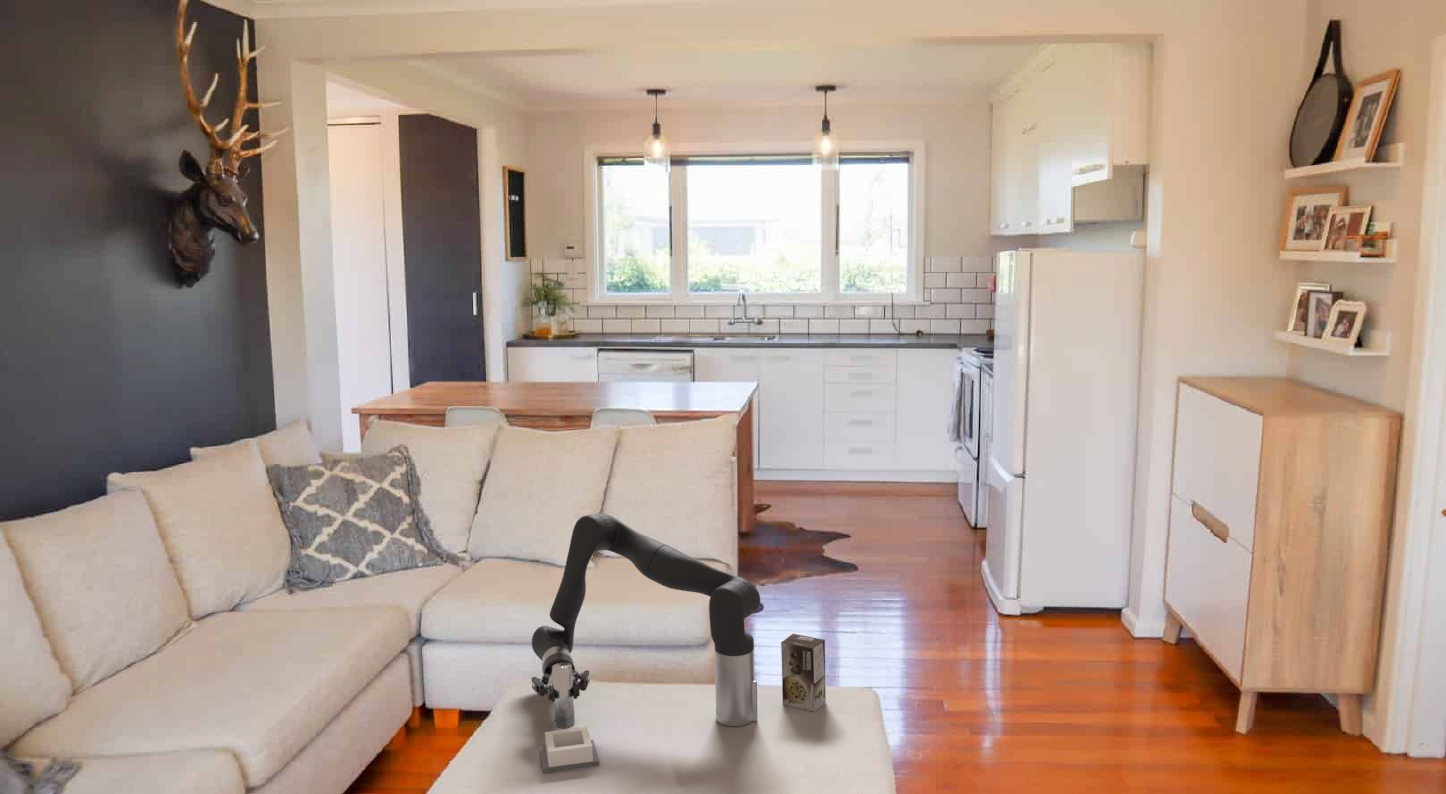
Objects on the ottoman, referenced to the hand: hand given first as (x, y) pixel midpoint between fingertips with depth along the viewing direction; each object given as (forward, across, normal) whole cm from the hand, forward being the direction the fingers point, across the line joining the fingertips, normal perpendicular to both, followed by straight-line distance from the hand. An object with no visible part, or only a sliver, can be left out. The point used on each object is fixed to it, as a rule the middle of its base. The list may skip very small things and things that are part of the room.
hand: (564, 696), depth 231 cm
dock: (+8, 0, +11) cm, 13 cm away
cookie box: (-4, +58, +12) cm, 59 cm away
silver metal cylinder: (-3, 0, +8) cm, 8 cm away
